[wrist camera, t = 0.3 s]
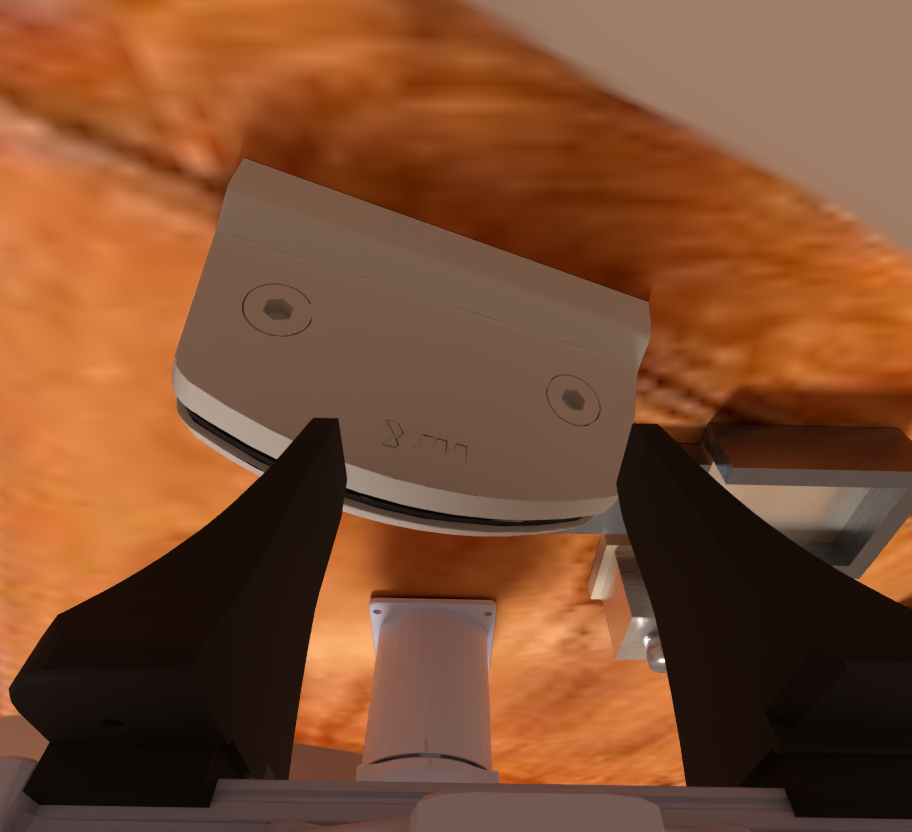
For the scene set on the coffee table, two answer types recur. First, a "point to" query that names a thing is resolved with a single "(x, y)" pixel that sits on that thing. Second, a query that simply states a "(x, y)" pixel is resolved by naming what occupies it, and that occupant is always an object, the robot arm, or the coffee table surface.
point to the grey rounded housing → (409, 361)
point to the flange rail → (808, 485)
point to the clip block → (631, 613)
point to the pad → (605, 560)
